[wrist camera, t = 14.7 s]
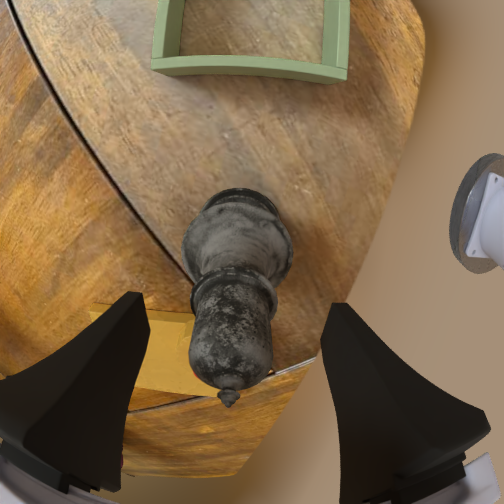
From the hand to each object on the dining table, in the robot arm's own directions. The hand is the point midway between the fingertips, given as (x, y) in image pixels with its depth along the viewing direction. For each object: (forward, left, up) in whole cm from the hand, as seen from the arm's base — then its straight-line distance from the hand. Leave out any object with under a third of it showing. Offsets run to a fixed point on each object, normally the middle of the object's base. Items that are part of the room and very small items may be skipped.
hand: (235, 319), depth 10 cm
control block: (+6, +13, -8) cm, 17 cm away
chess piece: (0, 0, -9) cm, 9 cm away
